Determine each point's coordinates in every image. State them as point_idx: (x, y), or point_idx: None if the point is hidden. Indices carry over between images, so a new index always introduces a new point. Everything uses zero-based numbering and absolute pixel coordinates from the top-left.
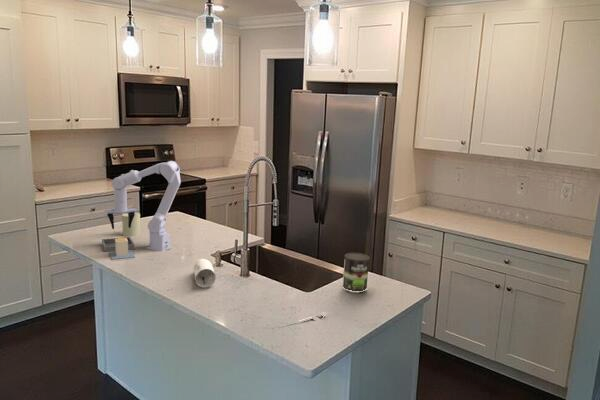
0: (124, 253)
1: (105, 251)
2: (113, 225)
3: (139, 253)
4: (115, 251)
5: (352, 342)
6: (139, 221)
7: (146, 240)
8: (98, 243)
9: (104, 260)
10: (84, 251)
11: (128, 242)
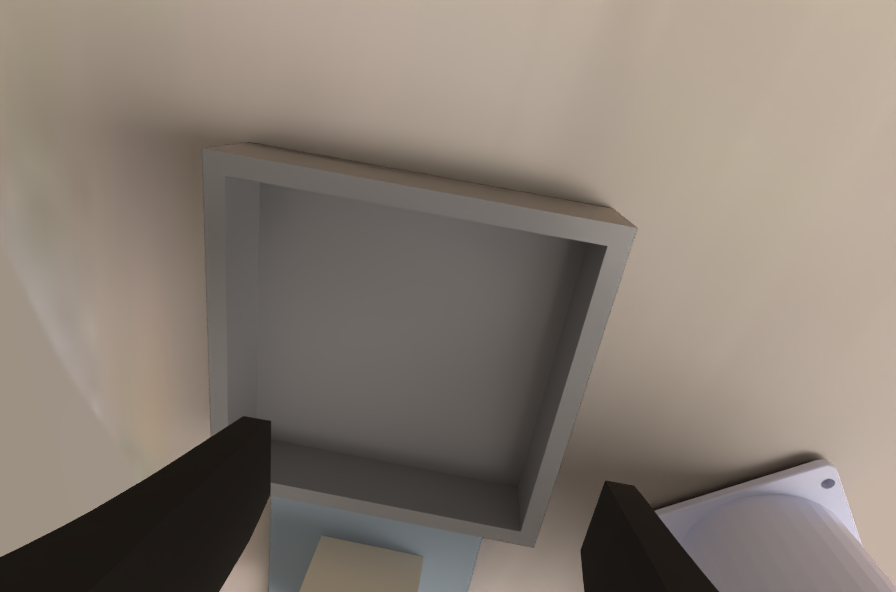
0: None
1: None
2: (213, 582)
3: (532, 573)
4: (315, 555)
5: None
6: None
7: (855, 221)
8: (213, 34)
9: None
10: (56, 286)
11: (574, 251)
